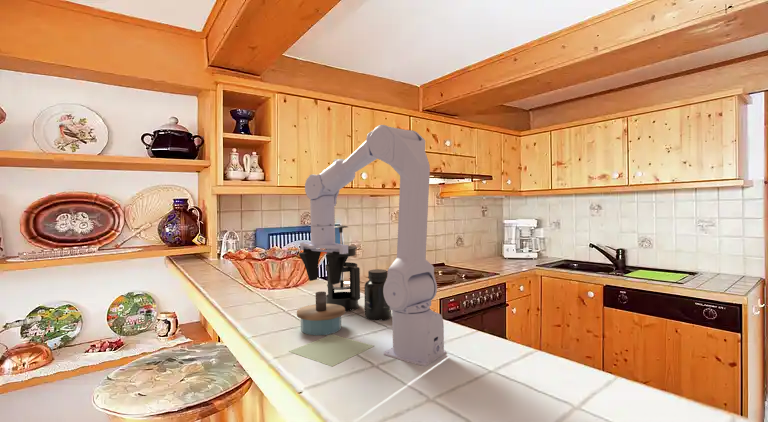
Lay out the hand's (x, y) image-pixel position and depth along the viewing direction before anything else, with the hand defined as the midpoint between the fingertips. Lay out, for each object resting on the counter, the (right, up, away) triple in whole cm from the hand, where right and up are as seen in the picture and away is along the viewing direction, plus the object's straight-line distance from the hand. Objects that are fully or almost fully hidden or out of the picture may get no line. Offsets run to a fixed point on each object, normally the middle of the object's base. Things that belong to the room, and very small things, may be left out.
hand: (323, 281), depth 94 cm
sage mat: (+4, -11, -16) cm, 20 cm away
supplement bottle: (+13, -10, +6) cm, 17 cm away
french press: (+3, -10, +16) cm, 19 cm away
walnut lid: (0, -7, -4) cm, 8 cm away
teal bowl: (0, -11, -3) cm, 11 cm away
